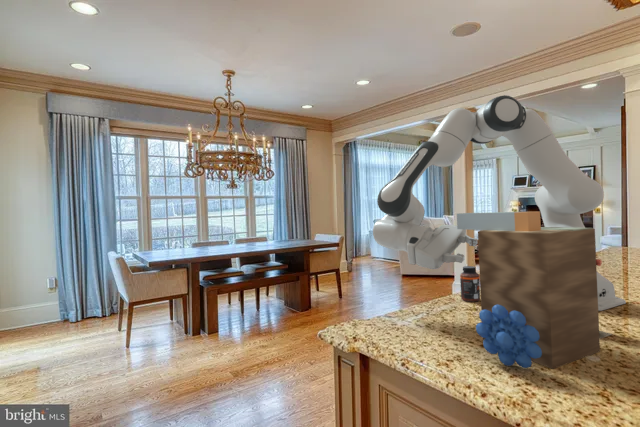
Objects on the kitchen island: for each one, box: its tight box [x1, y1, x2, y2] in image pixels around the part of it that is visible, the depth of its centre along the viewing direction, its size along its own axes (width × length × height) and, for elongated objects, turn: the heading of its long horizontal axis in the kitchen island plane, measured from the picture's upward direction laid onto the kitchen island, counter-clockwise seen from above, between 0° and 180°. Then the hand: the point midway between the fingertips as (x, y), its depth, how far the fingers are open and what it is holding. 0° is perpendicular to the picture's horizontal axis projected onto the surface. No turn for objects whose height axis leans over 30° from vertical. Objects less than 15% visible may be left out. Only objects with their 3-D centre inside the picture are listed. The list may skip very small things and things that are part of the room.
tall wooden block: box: [477, 226, 601, 369], centre depth 78 cm, size 16×16×26 cm
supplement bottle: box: [459, 265, 481, 303], centre depth 119 cm, size 6×6×11 cm
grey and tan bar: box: [456, 210, 542, 231], centre depth 82 cm, size 19×4×4 cm, turn 25°
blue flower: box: [475, 304, 542, 369], centre depth 69 cm, size 12×7×12 cm, turn 52°
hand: (470, 250), depth 95 cm, fingers open, 8 cm apart
